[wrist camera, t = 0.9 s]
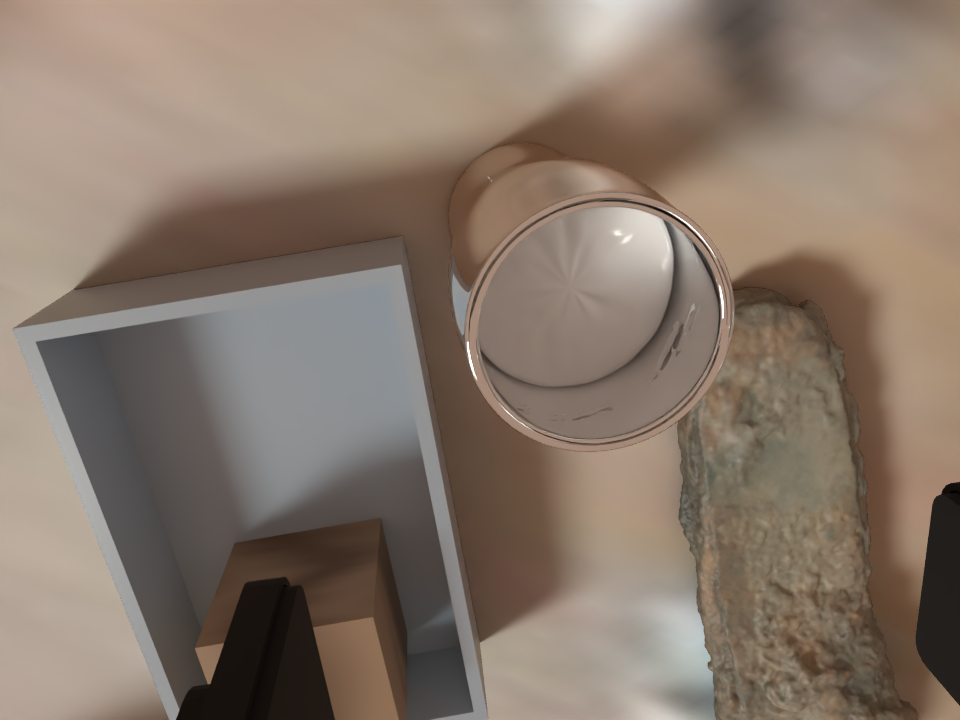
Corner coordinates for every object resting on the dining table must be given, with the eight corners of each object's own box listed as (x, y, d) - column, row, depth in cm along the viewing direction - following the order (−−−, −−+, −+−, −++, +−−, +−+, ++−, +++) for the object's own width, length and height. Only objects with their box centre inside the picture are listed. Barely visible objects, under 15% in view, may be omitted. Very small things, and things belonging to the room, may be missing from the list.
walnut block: (380, 517, 36) (373, 617, 29) (407, 633, 38) (405, 748, 32) (234, 542, 36) (194, 648, 29) (271, 657, 38) (241, 777, 32)
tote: (403, 235, 32) (401, 264, 27) (479, 643, 40) (488, 719, 35) (71, 290, 31) (12, 328, 27) (216, 690, 40) (190, 772, 35)
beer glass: (613, 140, 31) (776, 198, 17) (587, 301, 34) (710, 467, 20) (445, 122, 30) (472, 167, 16) (430, 289, 33) (443, 452, 19)
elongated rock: (830, 248, 35) (622, 302, 36) (890, 272, 30) (646, 334, 31) (893, 796, 46) (733, 828, 47) (945, 880, 41) (764, 915, 42)
